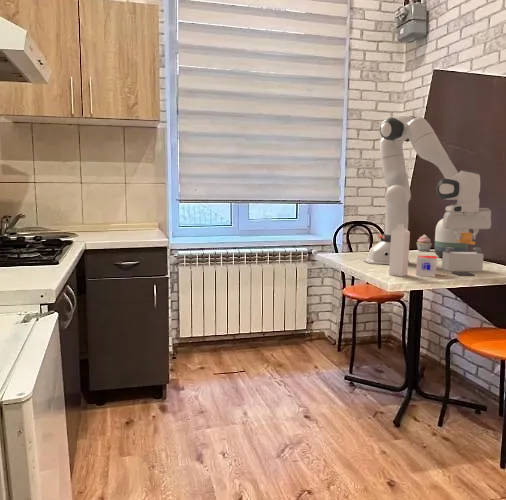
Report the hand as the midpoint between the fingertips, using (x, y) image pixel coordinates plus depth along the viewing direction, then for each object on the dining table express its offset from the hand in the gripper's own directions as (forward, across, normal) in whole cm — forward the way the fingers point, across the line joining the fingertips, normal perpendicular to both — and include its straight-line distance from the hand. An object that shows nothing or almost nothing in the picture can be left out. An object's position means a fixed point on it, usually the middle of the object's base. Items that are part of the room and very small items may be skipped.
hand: (465, 239), depth 217 cm
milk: (+15, +30, +3) cm, 34 cm away
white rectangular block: (+16, -5, -12) cm, 20 cm away
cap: (+2, 0, 0) cm, 2 cm away
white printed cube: (+16, +17, +1) cm, 23 cm away
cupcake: (+16, -12, -80) cm, 83 cm away
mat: (+16, 0, 0) cm, 16 cm away
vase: (+16, -17, -52) cm, 57 cm away
